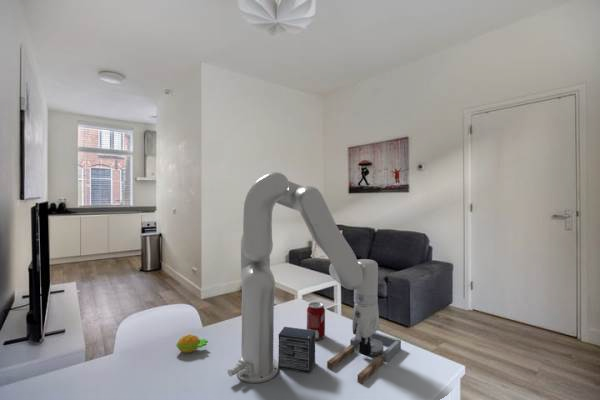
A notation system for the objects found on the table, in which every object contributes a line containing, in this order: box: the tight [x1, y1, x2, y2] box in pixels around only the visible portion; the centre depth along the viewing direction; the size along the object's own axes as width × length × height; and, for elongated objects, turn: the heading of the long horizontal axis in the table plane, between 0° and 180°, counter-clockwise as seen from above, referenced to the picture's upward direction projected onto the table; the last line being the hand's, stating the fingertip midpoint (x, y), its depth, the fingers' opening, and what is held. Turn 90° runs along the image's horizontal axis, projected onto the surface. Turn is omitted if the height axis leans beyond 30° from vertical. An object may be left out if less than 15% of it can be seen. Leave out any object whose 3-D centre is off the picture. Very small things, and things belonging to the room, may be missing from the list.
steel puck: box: [368, 338, 384, 358], centre depth 102 cm, size 7×7×3 cm
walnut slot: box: [326, 344, 385, 385], centre depth 93 cm, size 14×12×2 cm
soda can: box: [306, 301, 326, 341], centre depth 112 cm, size 7×7×12 cm
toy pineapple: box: [175, 334, 209, 354], centre depth 101 cm, size 7×10×5 cm
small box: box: [278, 326, 316, 374], centre depth 93 cm, size 11×6×10 cm, turn 74°
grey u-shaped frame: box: [349, 331, 402, 363], centre depth 104 cm, size 11×13×3 cm
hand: (364, 353), depth 98 cm, fingers closed
